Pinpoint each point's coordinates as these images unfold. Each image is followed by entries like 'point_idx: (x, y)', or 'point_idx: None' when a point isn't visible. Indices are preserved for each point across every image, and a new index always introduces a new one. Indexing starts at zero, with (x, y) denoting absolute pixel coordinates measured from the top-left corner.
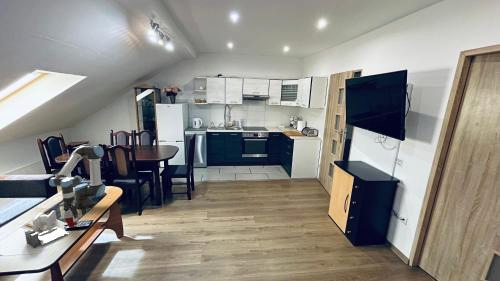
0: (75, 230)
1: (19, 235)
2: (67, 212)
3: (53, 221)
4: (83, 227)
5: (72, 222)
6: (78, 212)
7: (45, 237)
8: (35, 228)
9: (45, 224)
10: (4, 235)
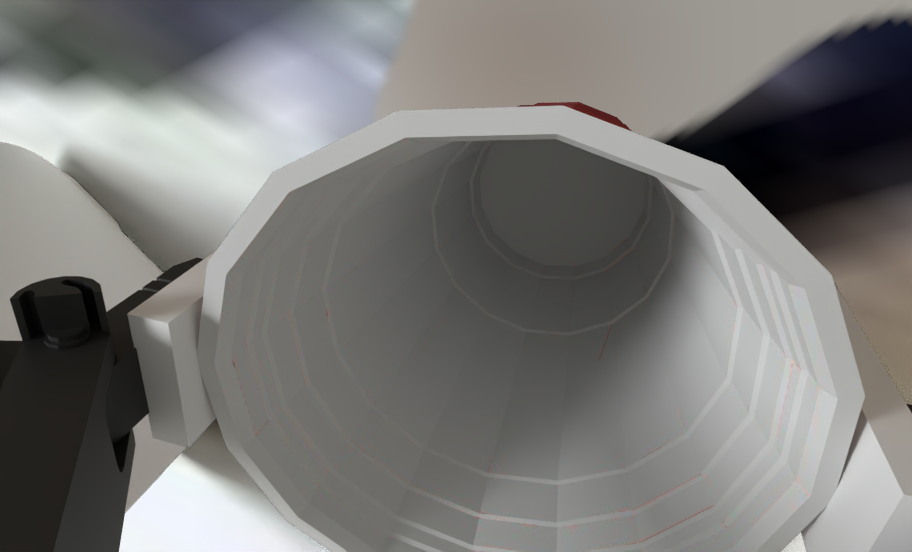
0: None
1: None
2: (239, 379)
3: (95, 273)
4: (894, 102)
5: (665, 317)
6: (770, 230)
7: None
8: (142, 494)
9: None
10: None
